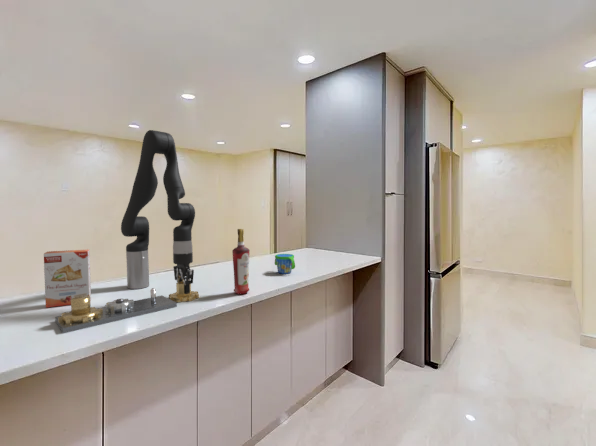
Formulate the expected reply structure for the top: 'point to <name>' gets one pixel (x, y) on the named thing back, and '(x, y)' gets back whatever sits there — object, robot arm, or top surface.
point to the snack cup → (284, 263)
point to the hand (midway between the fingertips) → (183, 292)
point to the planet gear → (180, 295)
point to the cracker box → (66, 276)
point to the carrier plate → (119, 316)
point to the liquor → (241, 265)
